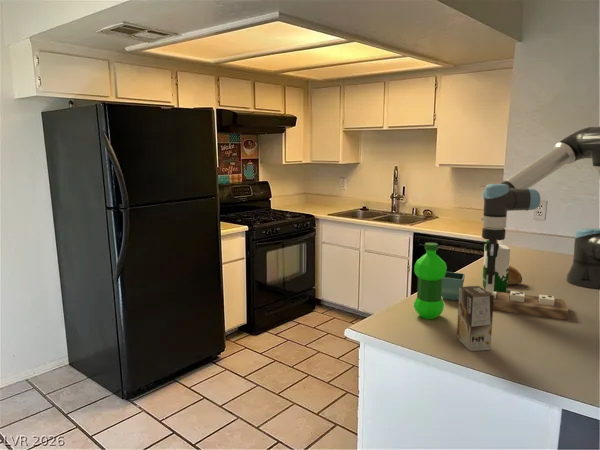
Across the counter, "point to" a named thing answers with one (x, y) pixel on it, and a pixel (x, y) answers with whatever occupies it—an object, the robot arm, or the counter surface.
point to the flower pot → (452, 285)
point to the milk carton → (498, 268)
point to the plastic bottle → (429, 283)
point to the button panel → (530, 306)
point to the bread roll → (514, 276)
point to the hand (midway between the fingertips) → (489, 291)
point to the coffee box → (475, 318)
